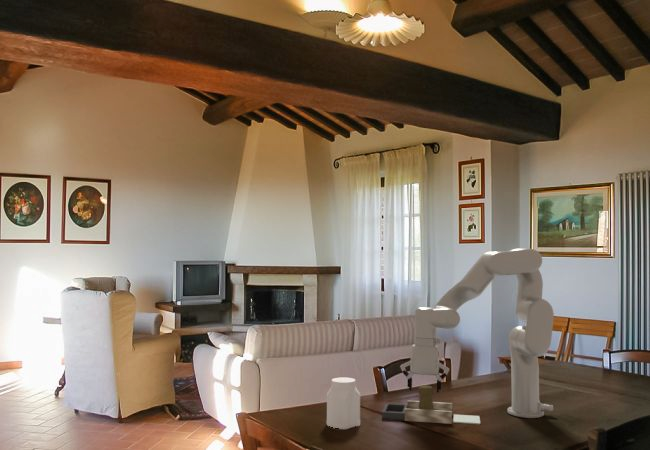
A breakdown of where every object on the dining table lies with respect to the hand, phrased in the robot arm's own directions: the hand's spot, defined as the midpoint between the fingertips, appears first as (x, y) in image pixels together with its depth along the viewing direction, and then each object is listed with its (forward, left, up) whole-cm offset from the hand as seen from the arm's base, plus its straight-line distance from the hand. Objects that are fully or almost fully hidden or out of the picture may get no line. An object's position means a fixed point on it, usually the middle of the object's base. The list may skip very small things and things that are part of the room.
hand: (424, 390), depth 208 cm
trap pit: (+10, 0, -9) cm, 14 cm away
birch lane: (-2, 0, -9) cm, 9 cm away
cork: (-1, 0, -10) cm, 10 cm away
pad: (-15, 0, -9) cm, 17 cm away
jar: (+26, +15, -10) cm, 32 cm away
